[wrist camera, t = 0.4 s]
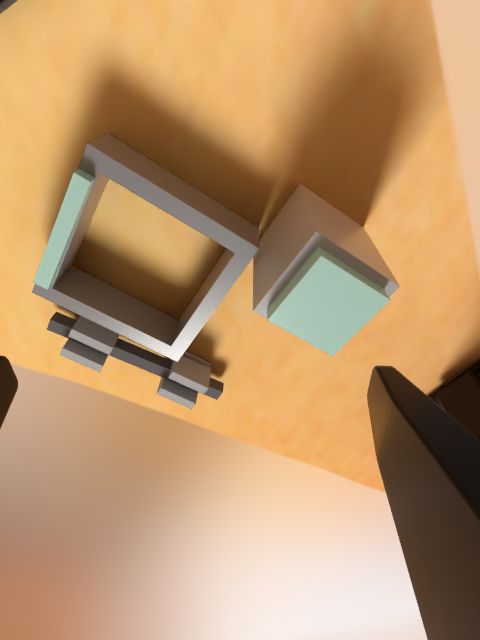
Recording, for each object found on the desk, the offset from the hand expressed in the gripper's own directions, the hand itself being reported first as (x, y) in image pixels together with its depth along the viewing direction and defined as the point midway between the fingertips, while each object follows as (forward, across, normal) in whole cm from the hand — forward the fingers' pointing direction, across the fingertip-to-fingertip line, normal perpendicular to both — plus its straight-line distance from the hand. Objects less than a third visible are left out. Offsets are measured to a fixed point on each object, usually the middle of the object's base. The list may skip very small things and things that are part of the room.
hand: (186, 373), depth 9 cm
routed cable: (+12, +6, +8) cm, 16 cm away
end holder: (+12, +4, +2) cm, 13 cm away
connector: (+12, -4, +1) cm, 13 cm away
